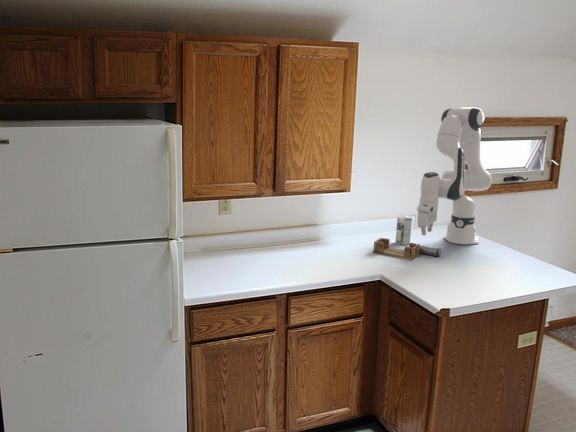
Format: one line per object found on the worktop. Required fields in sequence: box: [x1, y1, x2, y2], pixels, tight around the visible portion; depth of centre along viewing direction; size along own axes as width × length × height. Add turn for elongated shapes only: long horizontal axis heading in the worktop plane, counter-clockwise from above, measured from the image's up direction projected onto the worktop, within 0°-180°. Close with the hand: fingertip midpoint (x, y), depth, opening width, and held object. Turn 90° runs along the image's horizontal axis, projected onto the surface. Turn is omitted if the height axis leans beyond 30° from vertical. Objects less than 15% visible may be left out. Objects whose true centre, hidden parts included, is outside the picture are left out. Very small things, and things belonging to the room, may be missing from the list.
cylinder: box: [419, 244, 442, 257], centre depth 289 cm, size 4×14×4 cm, turn 60°
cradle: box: [372, 237, 421, 261], centre depth 288 cm, size 10×20×6 cm, turn 60°
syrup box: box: [395, 215, 413, 246], centre depth 305 cm, size 6×6×14 cm
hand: (426, 233), depth 286 cm, fingers open, 8 cm apart
